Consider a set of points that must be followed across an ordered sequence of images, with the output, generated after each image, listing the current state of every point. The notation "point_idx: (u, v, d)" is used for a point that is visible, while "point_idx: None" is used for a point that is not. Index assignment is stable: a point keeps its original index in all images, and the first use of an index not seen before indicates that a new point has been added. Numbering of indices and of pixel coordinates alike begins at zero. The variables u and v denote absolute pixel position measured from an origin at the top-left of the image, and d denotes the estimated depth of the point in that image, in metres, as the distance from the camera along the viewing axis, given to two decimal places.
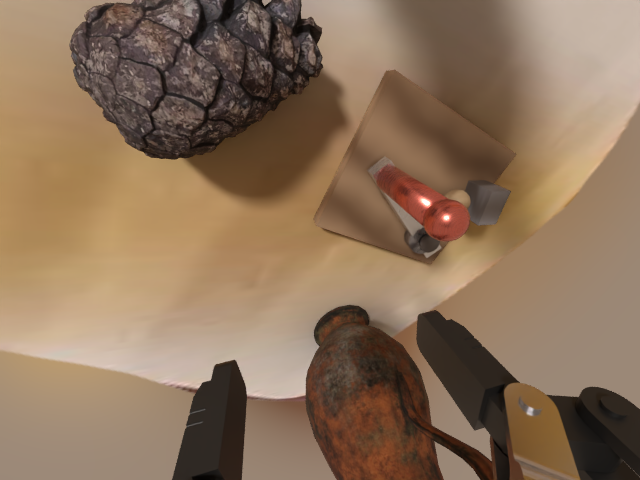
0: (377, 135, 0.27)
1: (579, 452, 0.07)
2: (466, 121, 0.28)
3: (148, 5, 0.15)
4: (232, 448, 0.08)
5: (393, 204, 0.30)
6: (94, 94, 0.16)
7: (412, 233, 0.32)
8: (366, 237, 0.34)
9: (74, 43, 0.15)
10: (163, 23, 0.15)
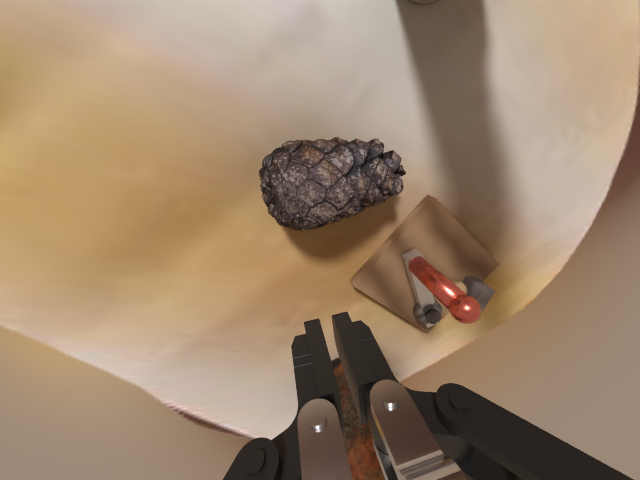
0: (414, 233, 0.38)
1: None
2: (471, 237, 0.41)
3: (326, 151, 0.26)
4: None
5: (415, 283, 0.40)
6: (276, 189, 0.25)
7: (422, 306, 0.42)
8: (386, 302, 0.43)
9: (280, 162, 0.25)
10: (333, 163, 0.26)
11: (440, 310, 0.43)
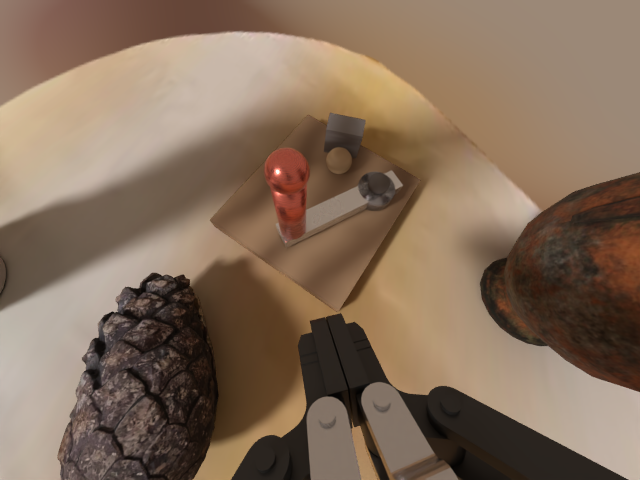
0: (257, 236, 0.29)
1: None
2: None
3: (71, 417, 0.18)
4: None
5: (323, 222, 0.28)
6: None
7: (364, 202, 0.29)
8: (367, 252, 0.29)
9: None
10: (80, 408, 0.18)
11: (371, 174, 0.30)
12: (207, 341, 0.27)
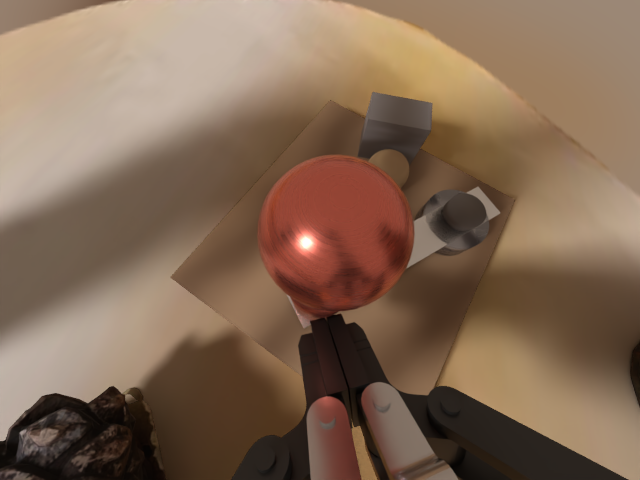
0: (252, 305, 0.17)
1: None
2: (268, 171, 0.20)
3: None
4: None
5: None
6: None
7: (439, 245, 0.16)
8: (444, 332, 0.17)
9: None
10: None
11: (444, 194, 0.18)
12: None
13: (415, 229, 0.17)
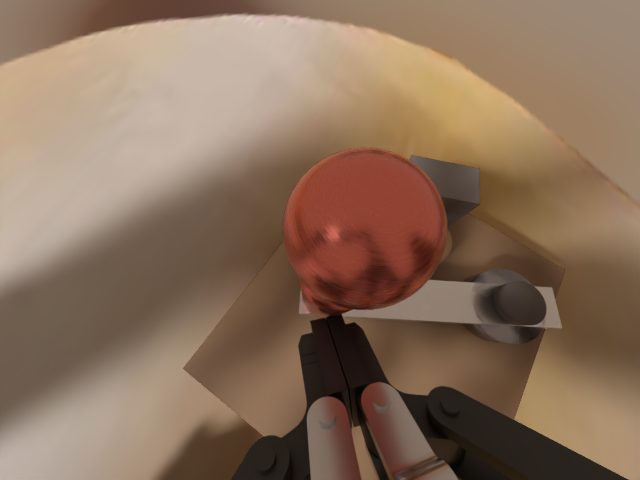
0: (275, 403, 0.15)
1: None
2: None
3: None
4: None
5: (380, 315, 0.15)
6: None
7: (472, 319, 0.15)
8: None
9: None
10: None
11: (508, 275, 0.16)
12: None
13: (456, 290, 0.15)
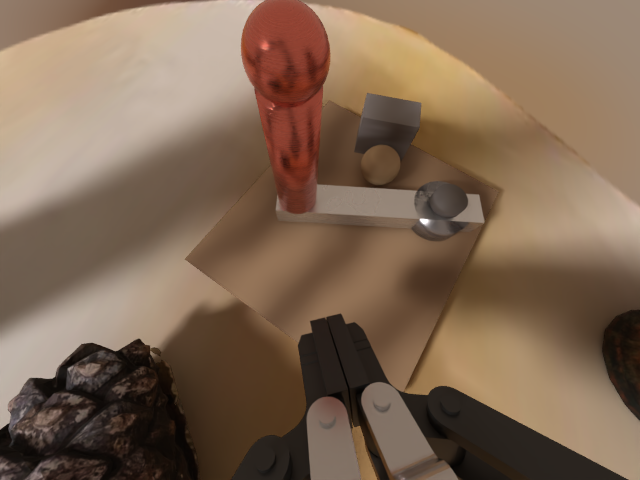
0: (258, 284, 0.19)
1: None
2: None
3: None
4: None
5: (340, 212, 0.19)
6: None
7: (413, 216, 0.19)
8: (431, 309, 0.19)
9: None
10: None
11: None
12: (186, 439, 0.17)
13: (401, 196, 0.19)
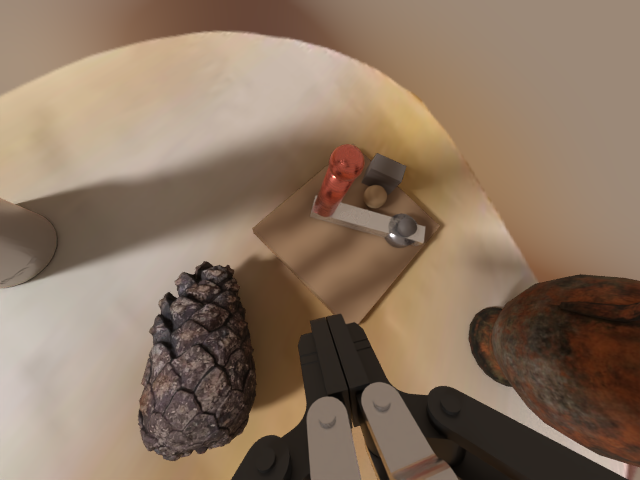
0: (292, 251, 0.33)
1: None
2: (310, 180, 0.36)
3: (148, 378, 0.22)
4: None
5: (347, 220, 0.33)
6: (179, 450, 0.20)
7: (386, 231, 0.33)
8: (384, 283, 0.34)
9: (147, 445, 0.20)
10: (158, 372, 0.21)
11: None
12: None
13: (382, 218, 0.34)
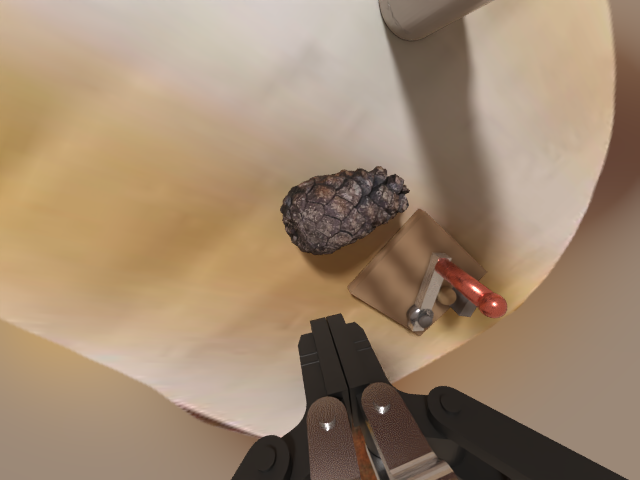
0: (406, 244, 0.41)
1: None
2: (460, 247, 0.44)
3: (336, 187, 0.30)
4: None
5: (431, 282, 0.43)
6: (298, 225, 0.30)
7: (421, 308, 0.45)
8: (381, 307, 0.46)
9: (298, 203, 0.29)
10: (344, 197, 0.29)
11: None
12: None
13: (431, 304, 0.45)
